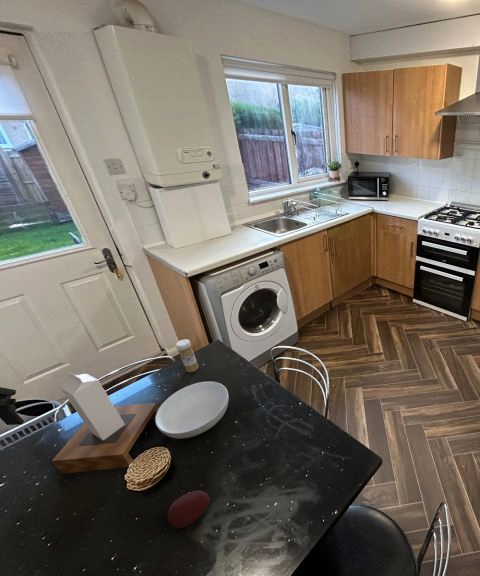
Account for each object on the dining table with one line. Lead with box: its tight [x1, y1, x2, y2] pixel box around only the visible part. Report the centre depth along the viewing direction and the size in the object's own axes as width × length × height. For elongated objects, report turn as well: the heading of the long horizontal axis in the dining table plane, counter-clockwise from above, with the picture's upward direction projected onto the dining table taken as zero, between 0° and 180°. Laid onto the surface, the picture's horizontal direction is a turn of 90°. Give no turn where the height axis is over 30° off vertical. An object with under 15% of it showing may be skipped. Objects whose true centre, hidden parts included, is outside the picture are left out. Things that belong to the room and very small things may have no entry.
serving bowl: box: [154, 381, 230, 439], centre depth 102 cm, size 21×21×7 cm
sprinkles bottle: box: [175, 338, 199, 373], centre depth 121 cm, size 5×5×14 cm
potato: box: [167, 490, 211, 529], centre depth 78 cm, size 8×9×6 cm
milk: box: [60, 371, 125, 440], centre depth 88 cm, size 6×6×22 cm
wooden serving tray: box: [51, 402, 160, 475], centre depth 95 cm, size 18×18×6 cm
